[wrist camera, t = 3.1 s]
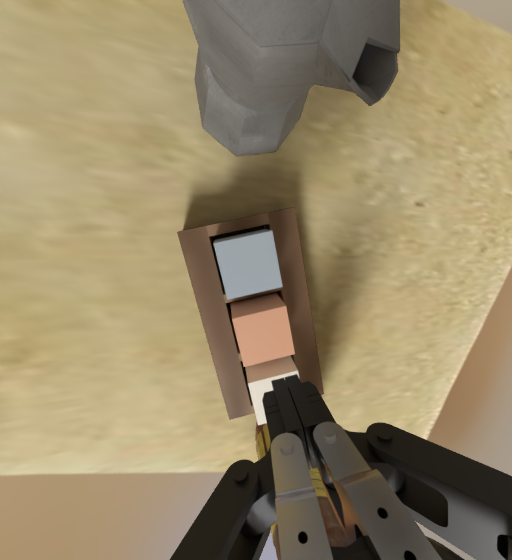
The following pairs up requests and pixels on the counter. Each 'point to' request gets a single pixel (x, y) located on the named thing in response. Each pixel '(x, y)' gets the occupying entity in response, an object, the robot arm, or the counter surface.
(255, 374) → the cream button
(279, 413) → the robot arm
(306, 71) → the coffeepot
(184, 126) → the counter surface
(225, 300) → the brown button board
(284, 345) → the terracotta button
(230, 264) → the slate button
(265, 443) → the sauce bottle
